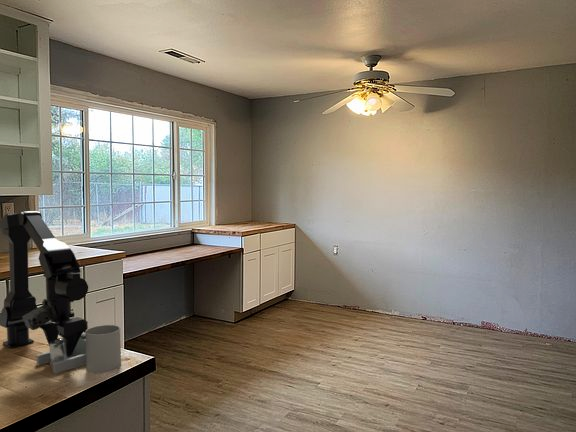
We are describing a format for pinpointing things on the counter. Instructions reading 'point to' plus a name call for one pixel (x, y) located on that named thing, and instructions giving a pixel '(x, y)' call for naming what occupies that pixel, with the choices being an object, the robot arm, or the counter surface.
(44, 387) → the counter surface
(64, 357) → the bottle
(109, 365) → the cup
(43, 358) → the grey u-shaped bracket
